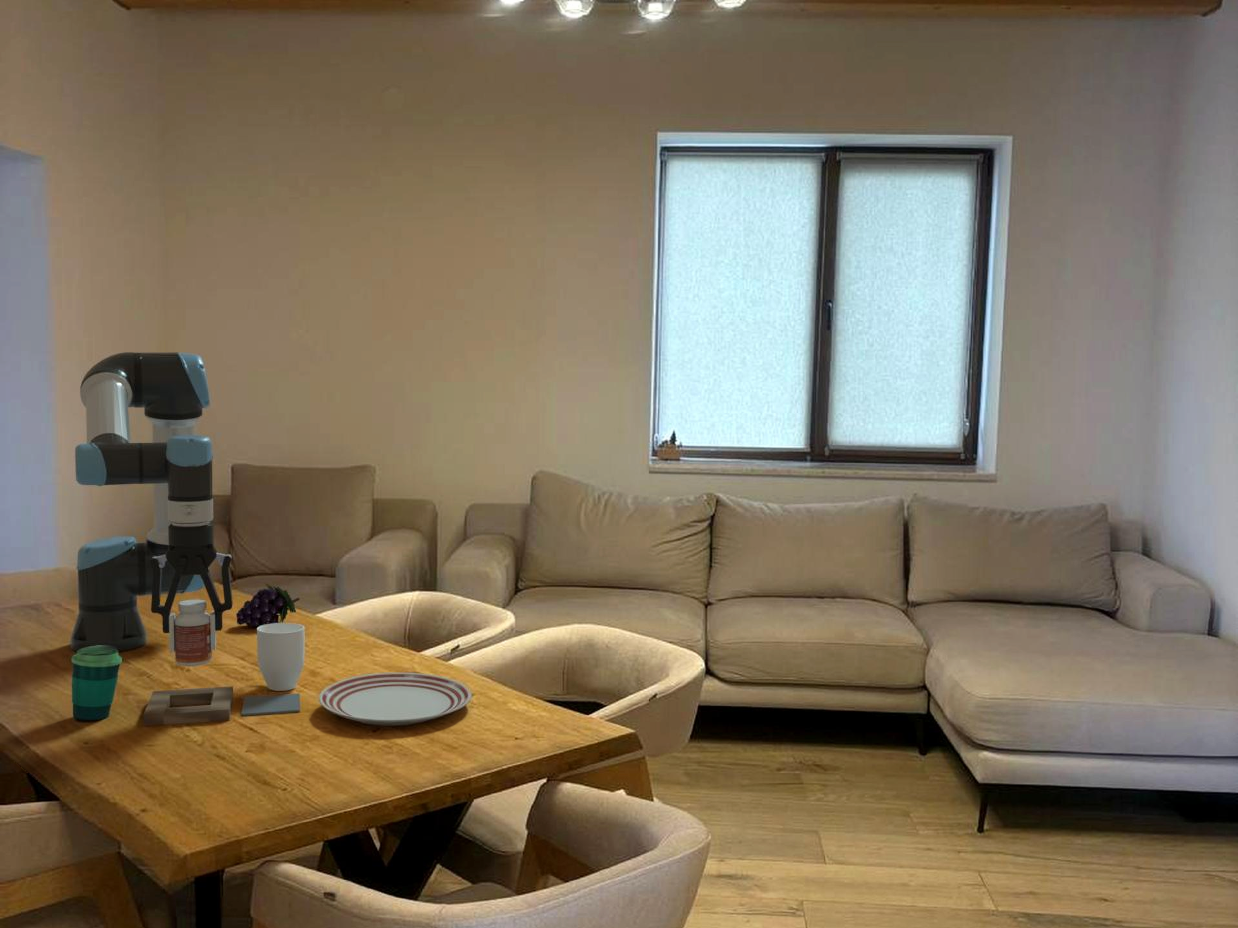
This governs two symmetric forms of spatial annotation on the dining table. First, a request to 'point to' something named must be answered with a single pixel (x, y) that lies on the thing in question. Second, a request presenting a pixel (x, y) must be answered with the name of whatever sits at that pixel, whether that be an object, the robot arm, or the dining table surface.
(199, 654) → the pill bottle
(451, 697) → the dinner plate
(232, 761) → the dining table surface
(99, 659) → the cup
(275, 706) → the coaster
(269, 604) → the fruit
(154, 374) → the robot arm
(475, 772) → the dining table surface
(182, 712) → the collar
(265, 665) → the mug
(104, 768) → the dining table surface
